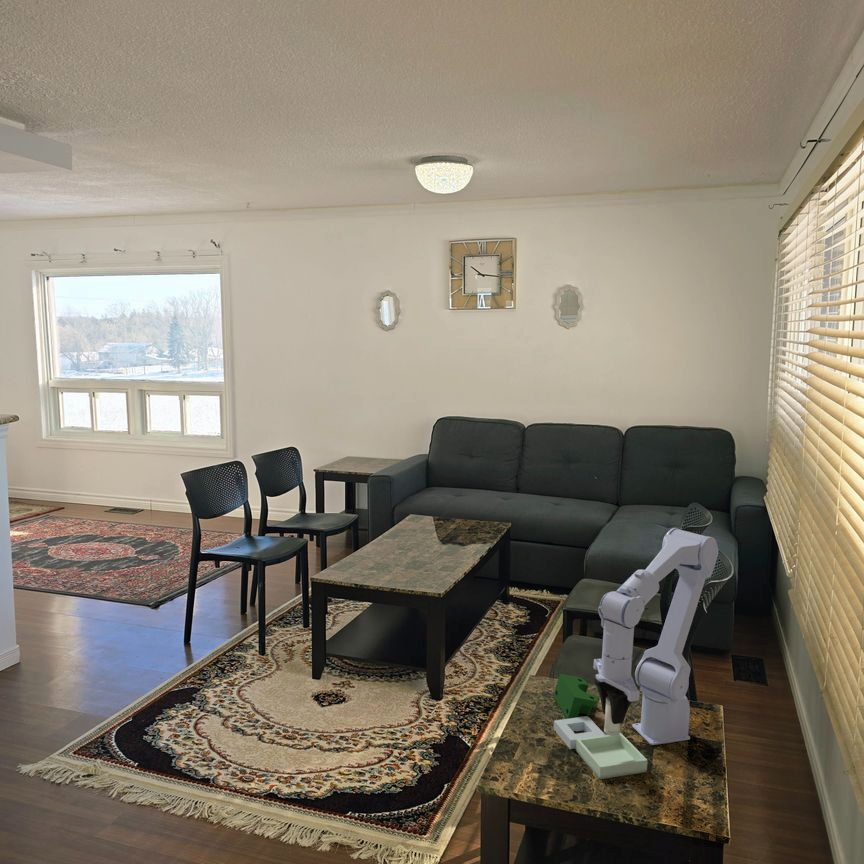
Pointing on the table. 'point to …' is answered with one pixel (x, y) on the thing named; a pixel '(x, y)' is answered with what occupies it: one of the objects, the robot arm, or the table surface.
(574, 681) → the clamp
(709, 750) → the table surface
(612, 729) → the cylinder
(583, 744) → the parts tray
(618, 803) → the table surface
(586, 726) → the grey square frame
